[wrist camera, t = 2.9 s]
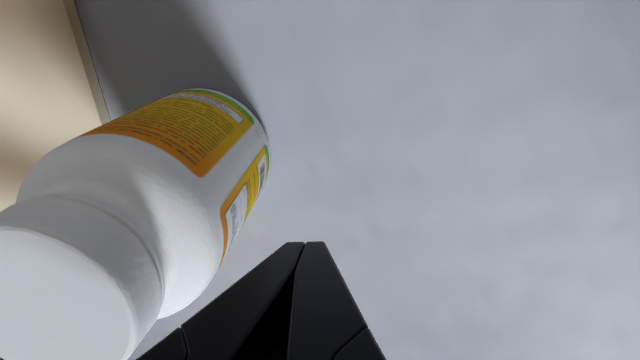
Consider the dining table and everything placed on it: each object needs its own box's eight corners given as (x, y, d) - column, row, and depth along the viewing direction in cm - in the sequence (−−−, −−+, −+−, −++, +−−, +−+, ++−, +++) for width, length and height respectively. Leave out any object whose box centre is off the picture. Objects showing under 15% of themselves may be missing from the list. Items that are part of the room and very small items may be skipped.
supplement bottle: (123, 115, 17) (-155, 241, 8) (235, 63, 15) (56, 144, 6) (188, 223, 18) (23, 425, 9) (294, 184, 17) (217, 378, 8)
